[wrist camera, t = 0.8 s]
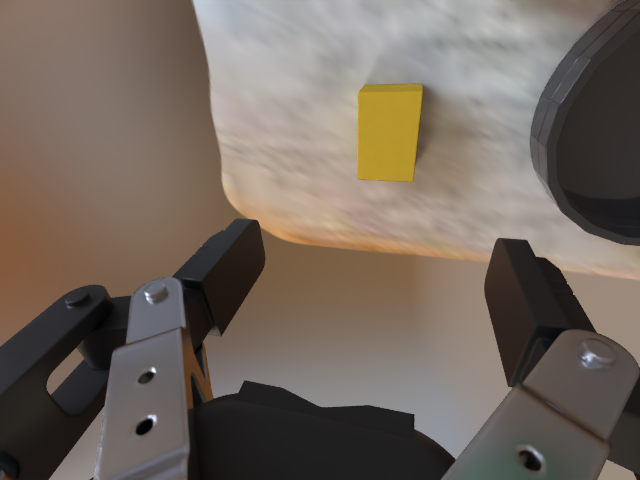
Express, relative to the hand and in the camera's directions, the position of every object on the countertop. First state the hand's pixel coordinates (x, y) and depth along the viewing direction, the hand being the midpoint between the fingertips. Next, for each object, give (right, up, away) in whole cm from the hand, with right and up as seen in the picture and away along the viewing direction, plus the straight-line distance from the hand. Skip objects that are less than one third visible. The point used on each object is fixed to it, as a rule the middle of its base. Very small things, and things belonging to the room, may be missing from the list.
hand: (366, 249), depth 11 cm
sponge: (+4, +9, +13) cm, 16 cm away
